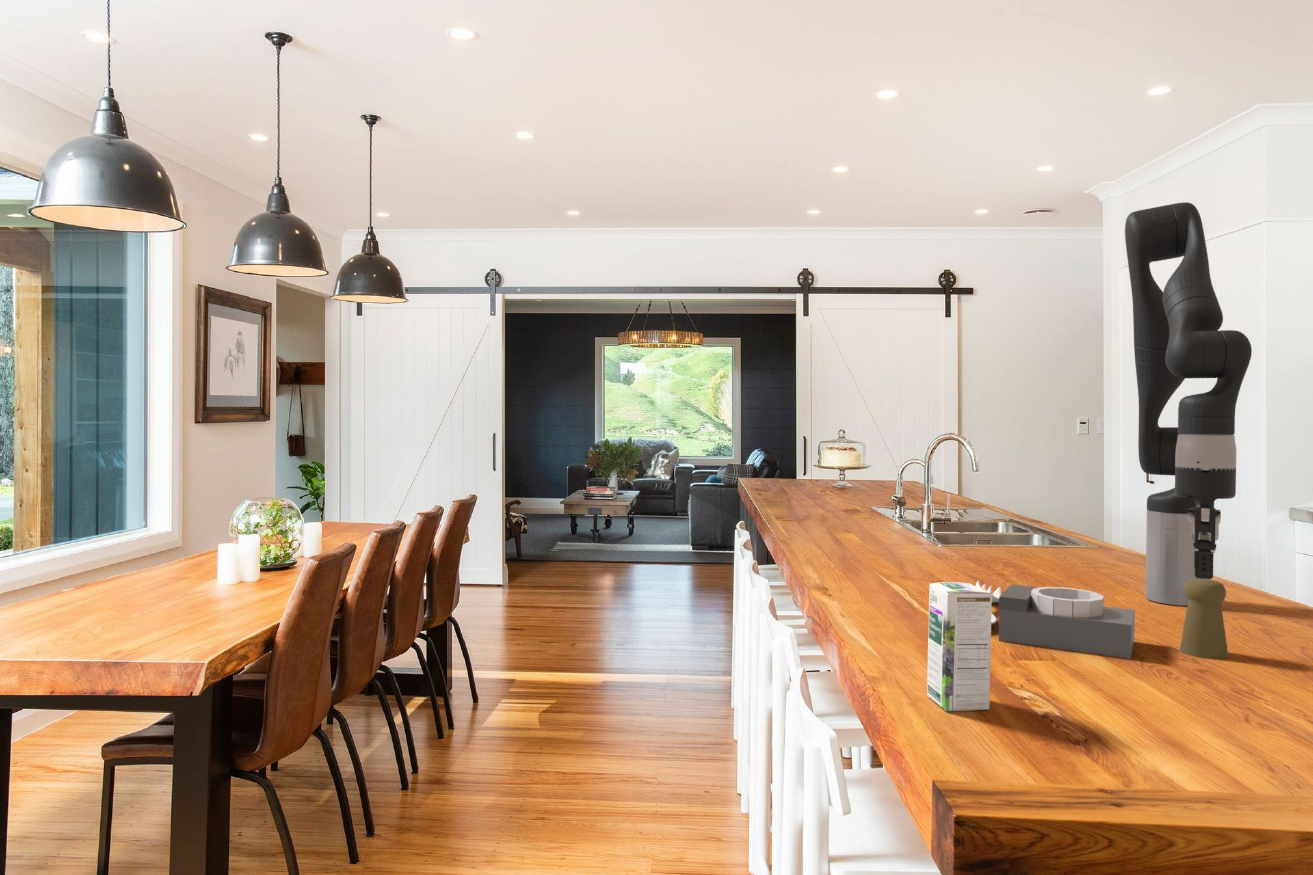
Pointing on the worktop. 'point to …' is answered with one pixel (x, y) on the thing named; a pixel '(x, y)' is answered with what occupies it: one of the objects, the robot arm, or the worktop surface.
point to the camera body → (1065, 621)
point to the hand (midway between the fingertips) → (1203, 573)
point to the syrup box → (959, 646)
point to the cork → (1204, 620)
